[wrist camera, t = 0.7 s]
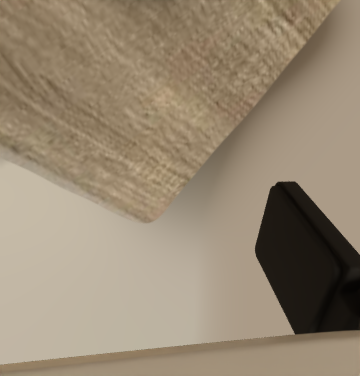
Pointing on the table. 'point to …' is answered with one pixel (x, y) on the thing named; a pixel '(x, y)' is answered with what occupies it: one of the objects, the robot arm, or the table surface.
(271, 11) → the table surface
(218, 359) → the robot arm
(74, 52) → the table surface
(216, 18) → the table surface
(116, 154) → the table surface
